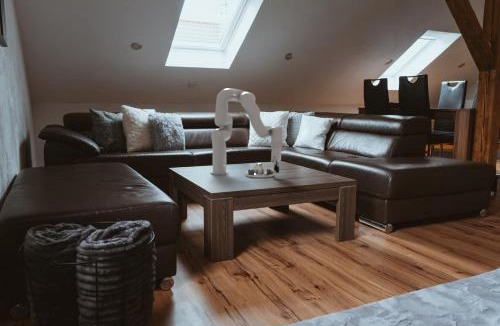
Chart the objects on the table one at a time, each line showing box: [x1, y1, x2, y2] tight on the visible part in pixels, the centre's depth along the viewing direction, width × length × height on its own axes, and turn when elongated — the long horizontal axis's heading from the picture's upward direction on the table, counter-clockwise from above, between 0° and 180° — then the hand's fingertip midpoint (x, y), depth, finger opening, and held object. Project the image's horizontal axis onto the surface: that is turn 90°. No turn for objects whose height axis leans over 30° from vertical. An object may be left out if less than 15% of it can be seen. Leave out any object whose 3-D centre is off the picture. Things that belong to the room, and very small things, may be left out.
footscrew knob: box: [266, 167, 277, 174], centre depth 270 cm, size 14×4×4 cm, turn 14°
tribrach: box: [244, 162, 275, 179], centre depth 277 cm, size 20×20×9 cm
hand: (276, 172), depth 268 cm, fingers closed
